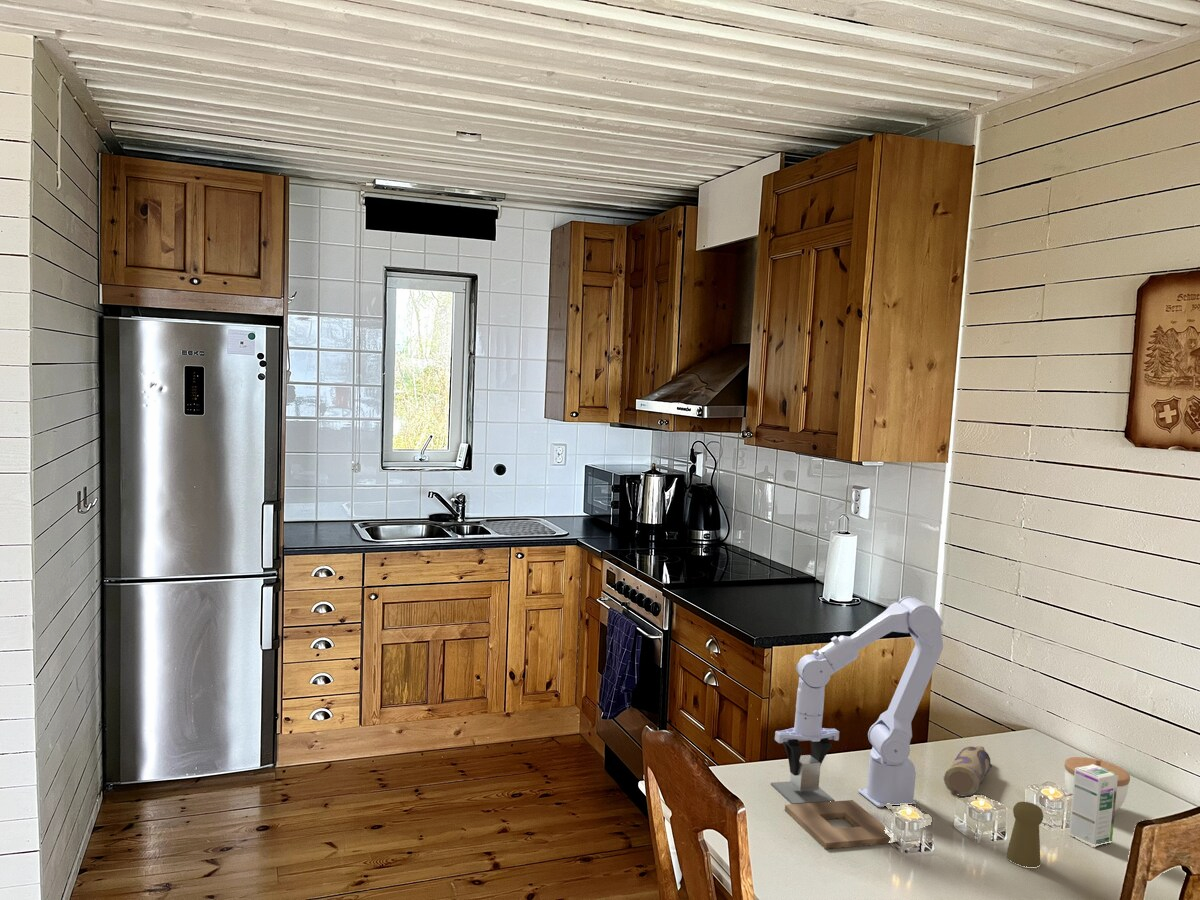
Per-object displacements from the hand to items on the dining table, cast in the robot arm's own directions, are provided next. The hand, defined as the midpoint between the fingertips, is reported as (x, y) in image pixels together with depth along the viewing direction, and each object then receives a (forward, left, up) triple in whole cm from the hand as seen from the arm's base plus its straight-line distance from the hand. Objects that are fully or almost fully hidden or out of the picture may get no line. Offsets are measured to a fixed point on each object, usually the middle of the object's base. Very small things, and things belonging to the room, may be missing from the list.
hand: (803, 772), depth 195 cm
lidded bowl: (-63, +16, -5) cm, 65 cm away
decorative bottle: (-45, -1, -5) cm, 46 cm away
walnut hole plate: (0, +15, -4) cm, 16 cm away
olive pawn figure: (-29, +33, -5) cm, 44 cm away
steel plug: (0, +1, -3) cm, 3 cm away
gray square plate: (0, 0, -4) cm, 4 cm away
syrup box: (-50, +28, -5) cm, 57 cm away
